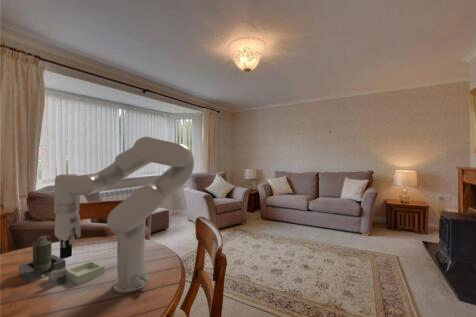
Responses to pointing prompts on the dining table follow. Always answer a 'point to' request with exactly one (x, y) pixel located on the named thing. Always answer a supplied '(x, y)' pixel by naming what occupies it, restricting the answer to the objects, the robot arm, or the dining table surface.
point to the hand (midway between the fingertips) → (65, 257)
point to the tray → (85, 272)
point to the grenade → (42, 254)
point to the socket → (39, 269)
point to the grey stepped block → (58, 276)
